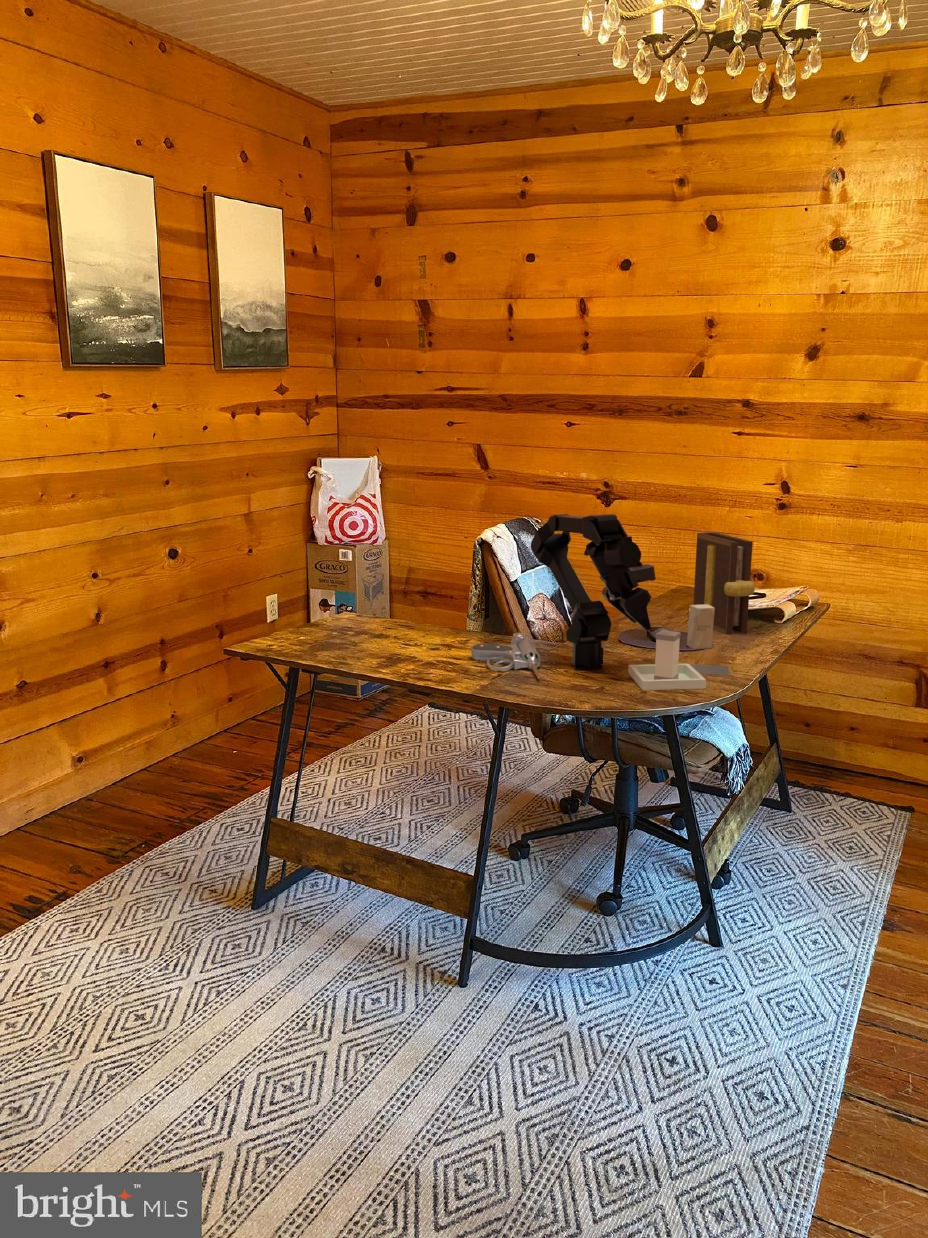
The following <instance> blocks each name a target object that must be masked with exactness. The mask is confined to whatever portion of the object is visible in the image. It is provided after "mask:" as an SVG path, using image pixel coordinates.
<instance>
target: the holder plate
mask: <svg viewBox="0 0 928 1238" xmlns="http://www.w3.org/2000/svg"><path fill="white" fill-rule="evenodd" d="M688 664H689V663H688ZM689 665H690V666H692V667H693V668H694V669H695V670H696V671H697V672H698V673H699V674H701V675H708V676H711V675H712V676H730V677H731V672H730V669H729V666H728V665H711V664H696V663H695V664H691V663H690V664H689Z"/></svg>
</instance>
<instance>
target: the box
mask: <svg viewBox="0 0 928 1238" xmlns="http://www.w3.org/2000/svg"><path fill="white" fill-rule="evenodd" d="M714 610H715V608H714V607H712V606H710V605H708V604H704V605H693V604H689V611H688V612H689V613H688V624H687V625H688V626H687V639H686V646H687V645H688V646H689V647H690V649H693V650H701V649H703V650H705V649H712V647H713V637H714V636H713V634H714V633H713V632H714V629H713V623H714ZM689 647H688V648H689Z"/></svg>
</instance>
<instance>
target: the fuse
mask: <svg viewBox="0 0 928 1238" xmlns="http://www.w3.org/2000/svg"><path fill="white" fill-rule="evenodd" d="M681 633H682V632H680V631H673V630H664V629H662V630H660V631H659V632H656V634H655V641H656V642H655V661H654V663H655V675H654V680H661V679H678V664H680V663H679V662H680V661H679V660H680V659H679V657H680V641H681V640H680V639H681Z"/></svg>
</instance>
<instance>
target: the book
mask: <svg viewBox="0 0 928 1238" xmlns="http://www.w3.org/2000/svg"><path fill="white" fill-rule="evenodd" d="M753 544H754V541H752V540H749V539H744V538H740V537H736V536H732V535H727V534H725V533H720V532H696V546H695V547H696V548H695V549H696V550H695V566H694V584H693V586H694V587H693V589H694V590H693V603H692V605H704V604H708V605H710V606H712V607H714V608H715V610H714V623H713V631H716V632H719V633H722V634H724V635H726V636H727V635H728V636H729V635H730V636H731V635H733V631H734V632H737V633H740V634H747V632H748V618H749V617H748V616H749V604H750V596H752V595H754V594H755V589H756V588H755V587H756V585H755V583H754V582H753V581H752V580H751V575H752V559H753Z"/></svg>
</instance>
